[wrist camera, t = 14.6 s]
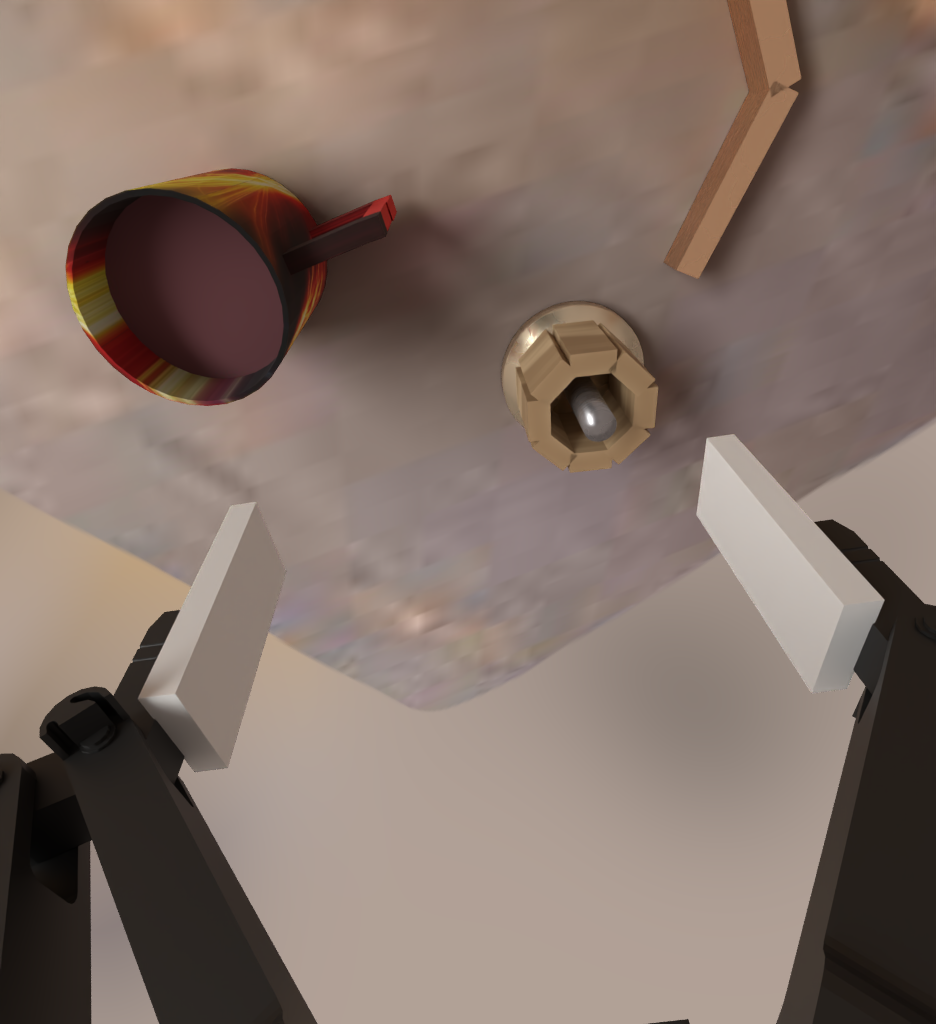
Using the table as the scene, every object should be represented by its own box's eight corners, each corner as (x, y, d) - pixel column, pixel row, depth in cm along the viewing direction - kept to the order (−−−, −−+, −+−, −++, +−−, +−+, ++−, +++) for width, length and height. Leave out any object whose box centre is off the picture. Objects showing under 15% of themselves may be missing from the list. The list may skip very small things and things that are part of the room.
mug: (402, 203, 35) (391, 235, 25) (271, 362, 40) (218, 441, 30) (266, 60, 31) (188, 31, 21) (139, 258, 36) (28, 310, 26)
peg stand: (496, 310, 39) (512, 354, 31) (643, 292, 39) (694, 333, 31) (505, 441, 44) (520, 505, 37) (634, 426, 44) (674, 488, 37)
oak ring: (513, 329, 38) (525, 359, 33) (632, 315, 38) (662, 344, 33) (519, 436, 43) (530, 477, 38) (625, 423, 43) (651, 463, 38)
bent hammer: (696, -160, 27) (781, -251, 20) (821, -176, 27) (949, -273, 20) (658, 273, 38) (706, 305, 31) (748, 263, 38) (815, 293, 31)
